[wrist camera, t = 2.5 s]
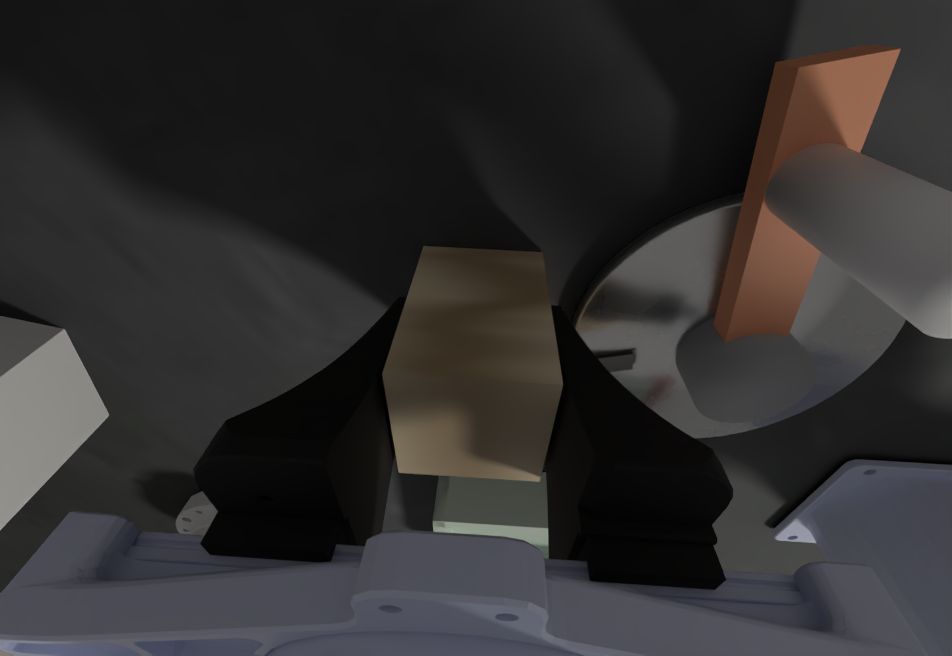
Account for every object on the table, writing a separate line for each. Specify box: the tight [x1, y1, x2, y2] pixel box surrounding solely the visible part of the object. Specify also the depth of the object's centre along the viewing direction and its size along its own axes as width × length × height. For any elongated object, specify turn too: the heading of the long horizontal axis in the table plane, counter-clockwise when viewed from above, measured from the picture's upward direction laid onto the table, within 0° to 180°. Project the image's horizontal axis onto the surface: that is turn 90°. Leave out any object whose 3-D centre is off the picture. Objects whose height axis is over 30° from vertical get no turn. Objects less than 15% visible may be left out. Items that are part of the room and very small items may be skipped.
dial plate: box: [572, 192, 906, 438], centre depth 15 cm, size 11×11×1 cm
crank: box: [675, 45, 952, 423], centre depth 10 cm, size 11×4×6 cm, turn 10°
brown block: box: [382, 246, 563, 482], centre depth 12 cm, size 4×4×6 cm
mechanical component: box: [176, 491, 218, 535], centre depth 26 cm, size 10×4×10 cm
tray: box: [433, 472, 549, 559], centre depth 24 cm, size 10×10×3 cm
